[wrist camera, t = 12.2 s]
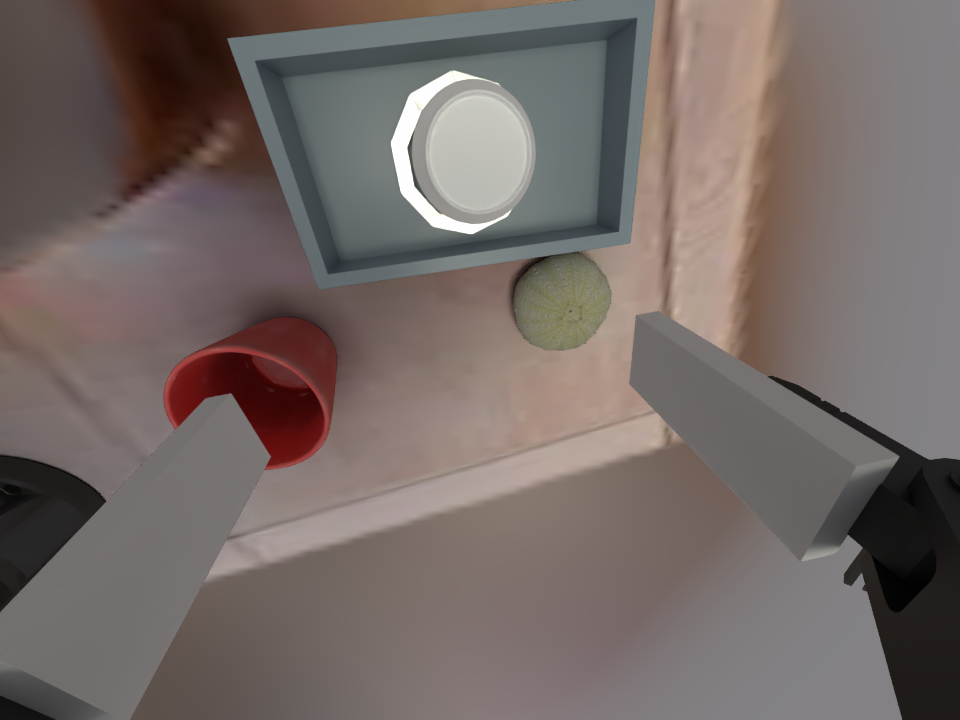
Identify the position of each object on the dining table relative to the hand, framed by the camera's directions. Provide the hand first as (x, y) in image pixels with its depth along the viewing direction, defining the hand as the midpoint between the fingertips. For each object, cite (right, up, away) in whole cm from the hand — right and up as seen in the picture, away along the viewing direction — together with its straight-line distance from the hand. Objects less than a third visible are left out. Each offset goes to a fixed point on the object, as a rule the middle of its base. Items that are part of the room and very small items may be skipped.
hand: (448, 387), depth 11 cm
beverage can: (0, +16, +15) cm, 22 cm away
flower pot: (-17, +2, +22) cm, 27 cm away
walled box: (0, +17, +15) cm, 22 cm away
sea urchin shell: (+8, +7, +22) cm, 25 cm away
